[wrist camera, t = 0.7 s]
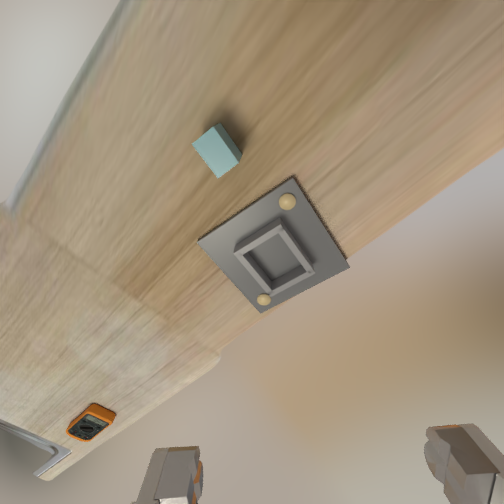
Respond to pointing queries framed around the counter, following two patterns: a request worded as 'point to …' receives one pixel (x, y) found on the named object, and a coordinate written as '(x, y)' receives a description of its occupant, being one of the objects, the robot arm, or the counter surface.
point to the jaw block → (218, 150)
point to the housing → (274, 247)
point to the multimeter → (90, 423)
